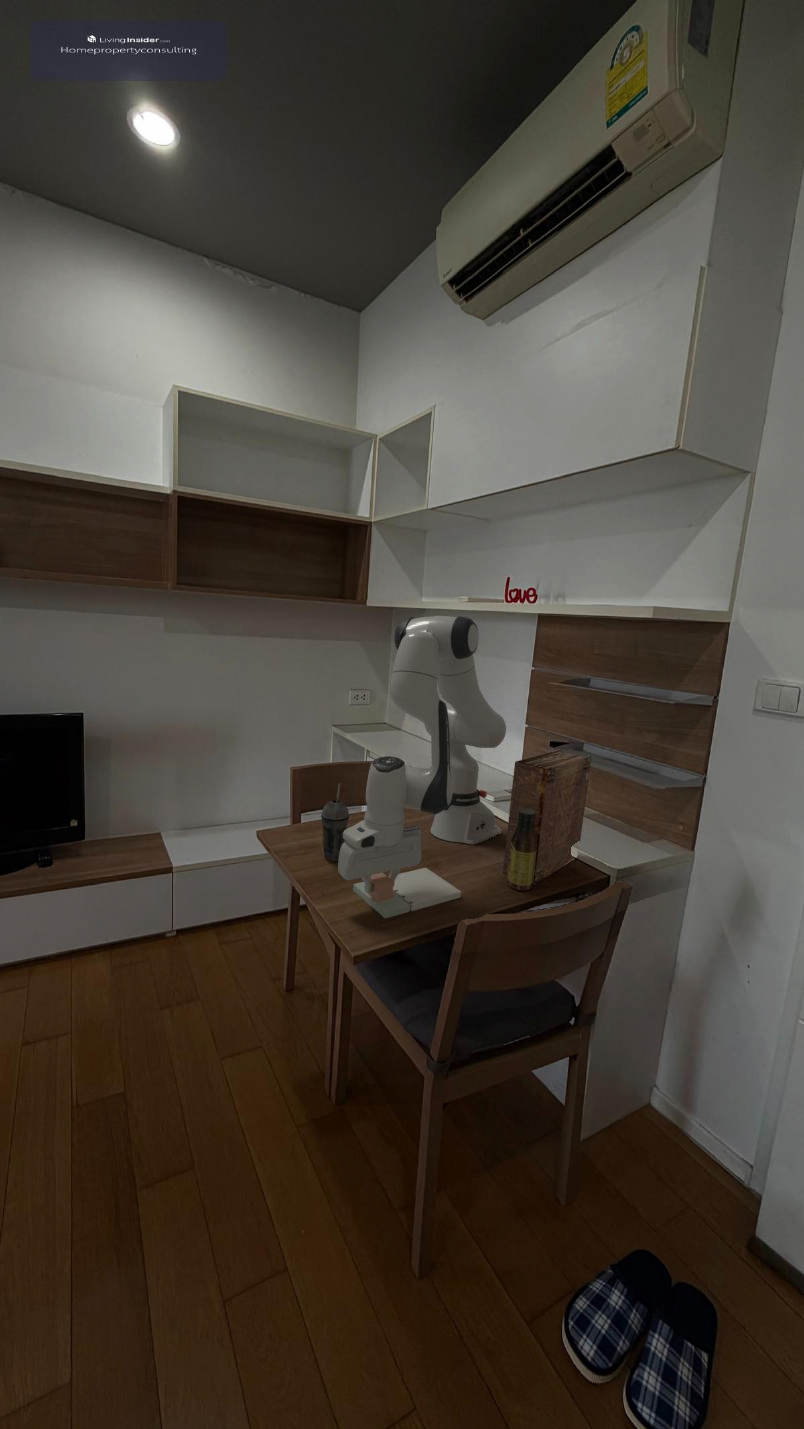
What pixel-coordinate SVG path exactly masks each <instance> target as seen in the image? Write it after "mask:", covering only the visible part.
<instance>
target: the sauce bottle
mask: <svg viewBox="0 0 804 1429" xmlns="http://www.w3.org/2000/svg"><path fill="white" fill-rule="evenodd" d="M518 816H519V819H518V825H517V828H516V830H515V832H514V834H513V836H512V838H511V847H510V857H509V868H508V874H507V884H508V886H509V887H510V888H512V889H514V890H517V891H522V892H524V891H528V890H530V889H532V886H533V884H532V882H533V877H534V868H535V858H536V844H537V837H536V835H535V833H534V830H533V828H534V826H533V825H534V818H535V811H534V810H532V809H529V808H521V809H519V812H518Z"/></svg>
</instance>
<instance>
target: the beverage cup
mask: <svg viewBox="0 0 804 1429" xmlns="http://www.w3.org/2000/svg"><path fill="white" fill-rule="evenodd" d="M340 789H341V783H338V785H337V793H336V799H335V800H331V801H328V802H326V804H324V807H323V809H322V811H321V816H320V818H321V823H322V824H321V825H322V837H323V838H322V840H323V841H322V843H323V854H324V856H323V857H324V858H323V859H325V860H326V861H328V862H338V861H339V853H340V849H341V846H342V844H343V843H344V842H345V840H344V838H343V832H344V831H345V830H346V829H347V825H348V823H349V818H350V813H349V809H348V807H347V805H346V804H345V803H344V802H342V801H341V800H340V798H339V797H340V793H341V792H340Z"/></svg>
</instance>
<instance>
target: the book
mask: <svg viewBox="0 0 804 1429" xmlns="http://www.w3.org/2000/svg"><path fill="white" fill-rule="evenodd" d="M591 762H592V755H587V756H582V755H577V754H572V753H569V752H564V751H563V749H562V748H559V749H555V750H552V751H548V752H545V753H541V754H537V755H534V756H531V757H527V758H524V759H520V760H517V761H515V762H514V768H513V775H512V776H513V777H512V786H511V796H510V805H509V813H508V821H507V822H508V823H507V831H506V840H505V841H506V842H505V848H504V858H503V859H504V860H503V866H502V867H503V869H502V873H504V874H507V875H508V868H509V857H510V847H511V838H512V836H513V834H514V832H515V830H516V828H517V825H518V819H519V816H518V812H519V809H521V808H529V809H532V810H534V811H535V818H534V825H533V826H534V828H533V830H534V833H535V835H536V837H537V844H536V858H535V868H534V877H533V882H532V886H533V885H534V886H535V885H536V884H538V883H540V882H541V881H543V880H545V879H546V878H548V877H549V875H550V876H551V875H553V874H555V873H556V872H558V871H559V870H558V869H559V868H560V867H562V866H563V865H564V864H565V863H567V862H568V861H569V860H570V859H572V855H571V847H572V845H574V844H575V843H577V842H578V841H580V842H581V839H582V838H581V837H582V830H583V824H584V822H583V821H584V817H585V816H584V814H585V806H586V799H587V793H588V785H589V778H590V770H591ZM557 870H558V871H557ZM555 871H556V872H555ZM554 872H555V873H554ZM552 873H553V874H552Z"/></svg>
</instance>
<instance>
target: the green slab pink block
mask: <svg viewBox="0 0 804 1429" xmlns="http://www.w3.org/2000/svg"><path fill="white" fill-rule="evenodd" d="M368 880H369V882H371V883H372V884H374V891H373V892H369V893H367V892H366V891H365V889H364V887H365V883H364V881H361V882H358V883H357V882H356V883H354V884H353V885H352V886H353V887H352V891H353V892H354V893H356V894H357V896H359V897H360V898H361V899H362V900H364V901H365V902H366V904H368V905H369V906H370V907H371V908H372V909H373V910H374V911H376V912H377V913H378V914H379V915H380V916H381V917H383V918H384V919H388V918H393V917H395V916H399V915H403V914H406V913H409V912H410V911H411V910H410V905H409V904H408V903H406V902H405V901H404V900H403V899H401V898H400V897H399V896H398V895H396V894H395V893H394V892H393V884H394V881H393V880H391V879H390V878H389V877H388V876H387V875H386V874H385V872H382V873H378V874H374V875H371V879H368Z"/></svg>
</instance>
